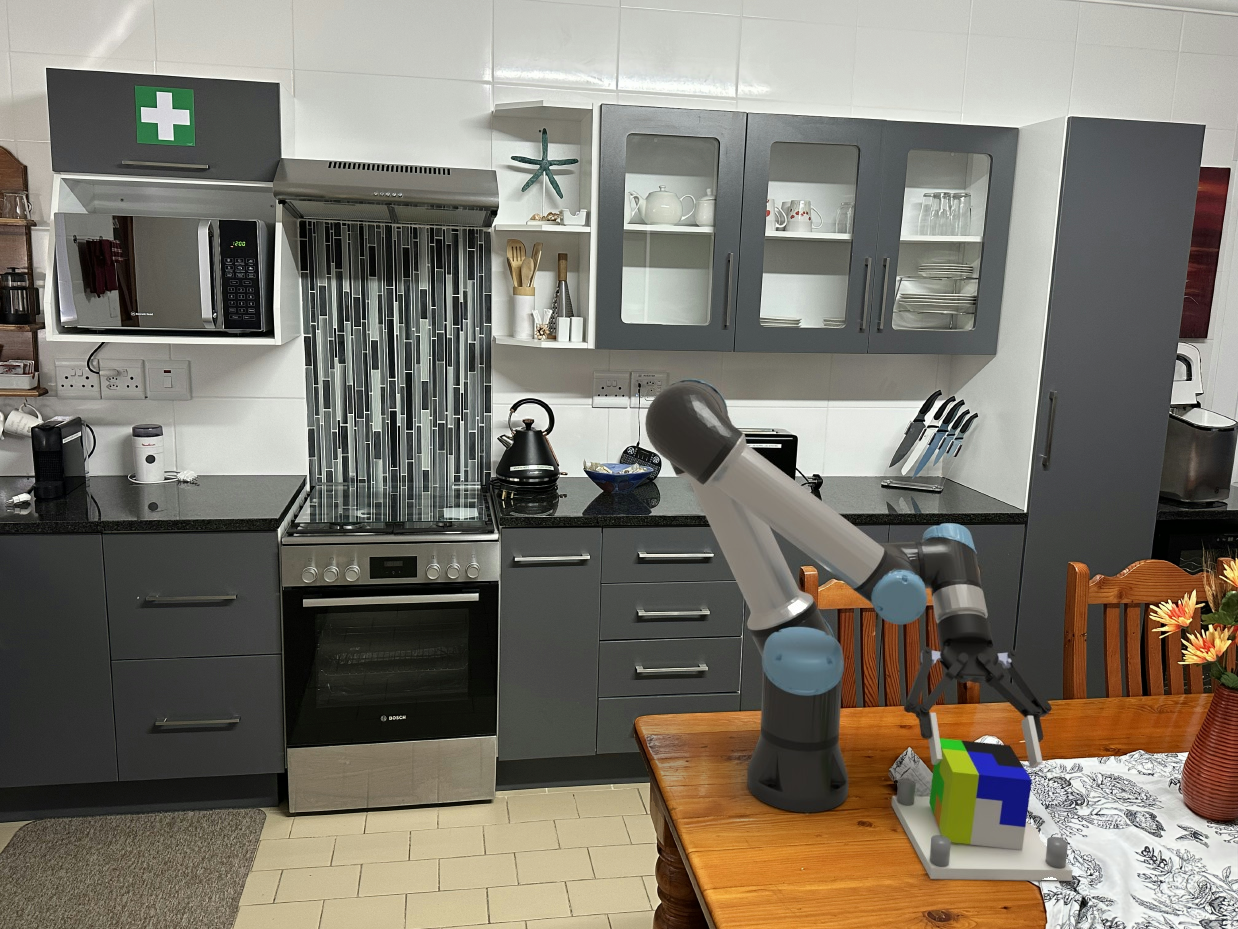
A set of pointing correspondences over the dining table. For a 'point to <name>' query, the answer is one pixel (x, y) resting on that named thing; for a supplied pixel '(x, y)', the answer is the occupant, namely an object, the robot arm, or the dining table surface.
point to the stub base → (975, 847)
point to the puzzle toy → (980, 794)
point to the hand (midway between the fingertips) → (986, 763)
